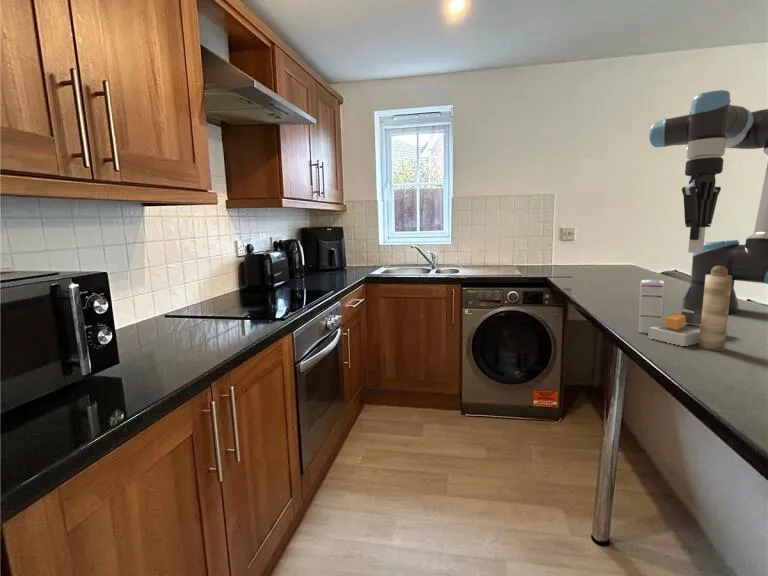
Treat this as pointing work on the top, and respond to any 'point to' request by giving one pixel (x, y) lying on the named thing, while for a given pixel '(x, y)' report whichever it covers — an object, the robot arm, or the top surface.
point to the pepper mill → (715, 309)
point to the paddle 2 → (698, 311)
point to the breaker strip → (677, 334)
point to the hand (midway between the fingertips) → (695, 252)
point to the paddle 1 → (675, 321)
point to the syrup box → (650, 304)
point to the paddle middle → (692, 318)
